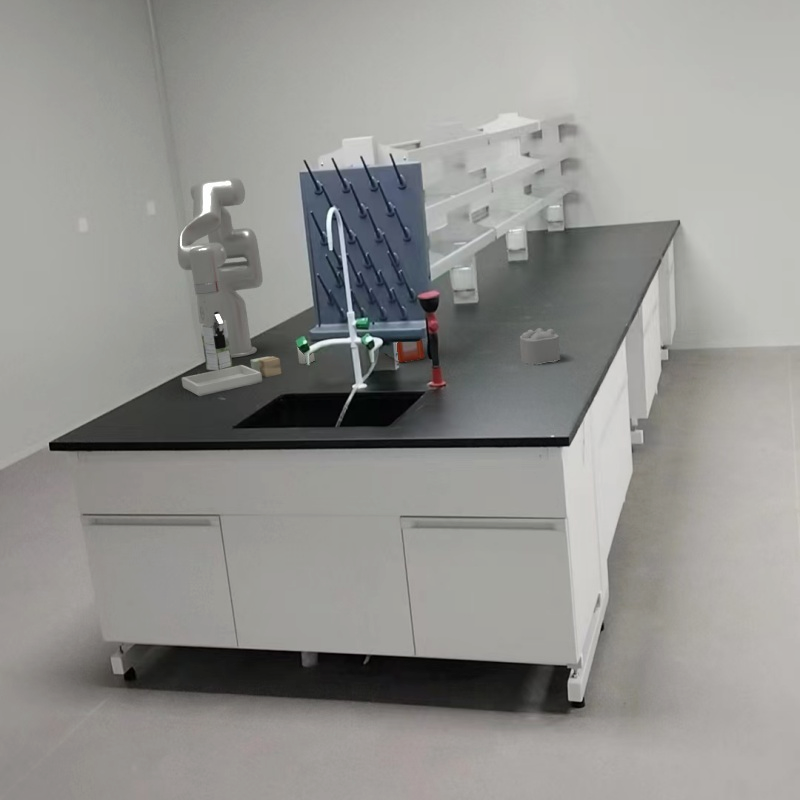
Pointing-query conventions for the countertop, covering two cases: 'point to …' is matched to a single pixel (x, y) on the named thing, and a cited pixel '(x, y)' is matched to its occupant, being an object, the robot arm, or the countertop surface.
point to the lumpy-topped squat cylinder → (539, 346)
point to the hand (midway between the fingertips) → (216, 346)
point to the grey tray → (221, 380)
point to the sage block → (256, 364)
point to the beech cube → (270, 366)
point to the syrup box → (213, 356)
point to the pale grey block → (302, 357)
